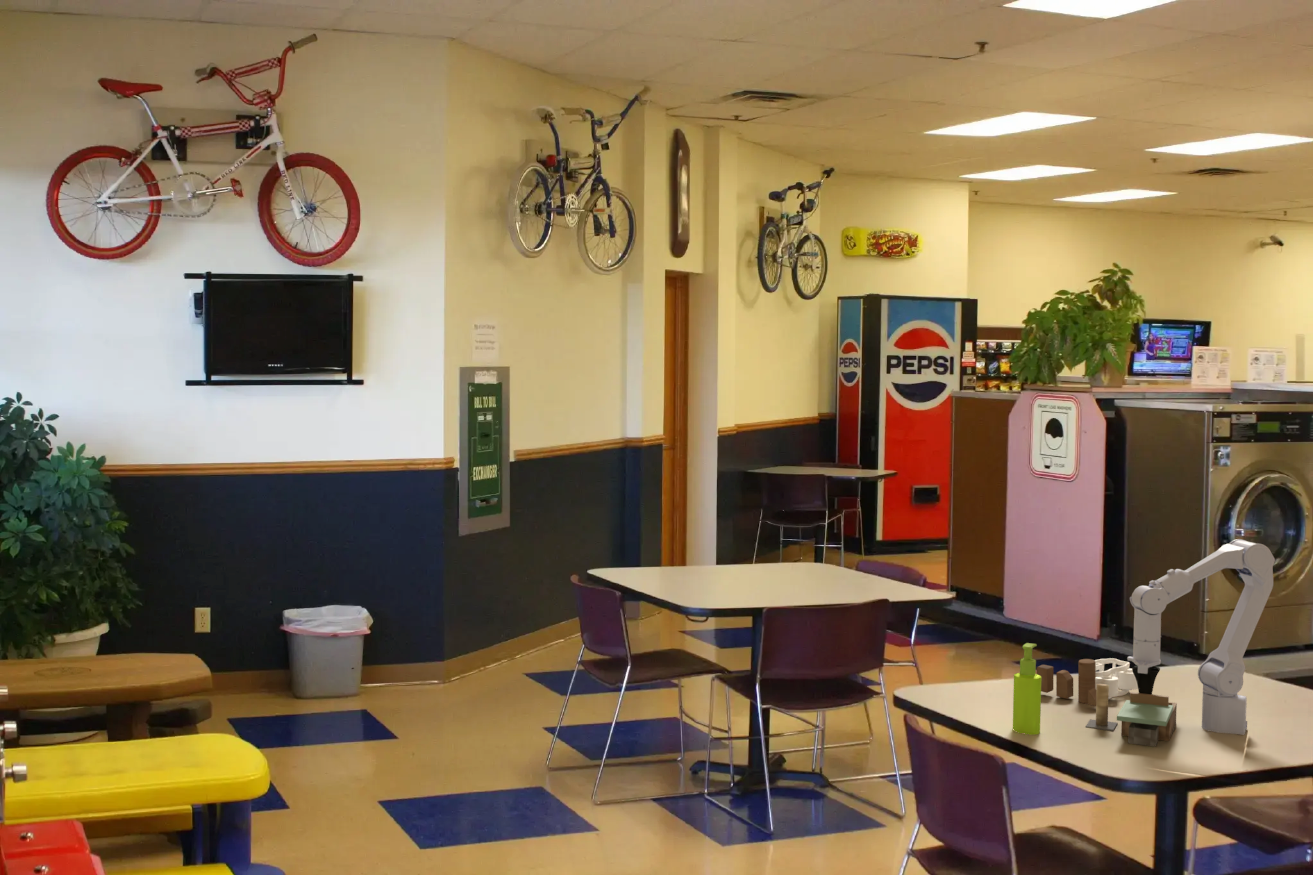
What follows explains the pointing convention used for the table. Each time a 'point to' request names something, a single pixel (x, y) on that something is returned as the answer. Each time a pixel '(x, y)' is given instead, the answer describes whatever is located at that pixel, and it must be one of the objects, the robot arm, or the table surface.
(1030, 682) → the soap dispenser
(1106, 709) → the beige banded cylinder
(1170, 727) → the toolbox
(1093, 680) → the wooden block set
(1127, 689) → the wheeled car silhouette
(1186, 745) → the table surface
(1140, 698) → the toolbox lid
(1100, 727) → the mat
